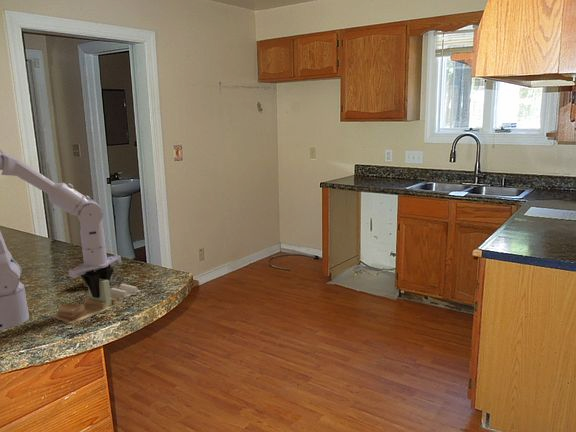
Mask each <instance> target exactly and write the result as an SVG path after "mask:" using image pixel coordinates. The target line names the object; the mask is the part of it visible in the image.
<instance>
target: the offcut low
mask: <svg viewBox="0 0 576 432" xmlns="http://www.w3.org/2000/svg"><path fill="white" fill-rule="evenodd" d="M56 314H58V316H59V317H62V318H65V319H68V320H71V321H73V320H76V319H78V318H80V317H83V316H85V315H87V314H86V310H83V311H81V312H79V313H77V314H75V315H69V314H64V313H59V310H58V311H57V313H56Z"/></svg>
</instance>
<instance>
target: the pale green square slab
mask: <svg viewBox="0 0 576 432" xmlns="http://www.w3.org/2000/svg"><path fill="white" fill-rule="evenodd" d="M87 289H88V296H89V297H88V298H90V299H94V300H98V301H101V302H105V303H106V306H107V307H109V306H111V305H112V301H111V297H112V296H111V292H110V289H111V285H110V284H109V280H106V279H101V278H99V293H100V296H99V298H95V297H92V294H91V291H90V289H89V287H87Z"/></svg>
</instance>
